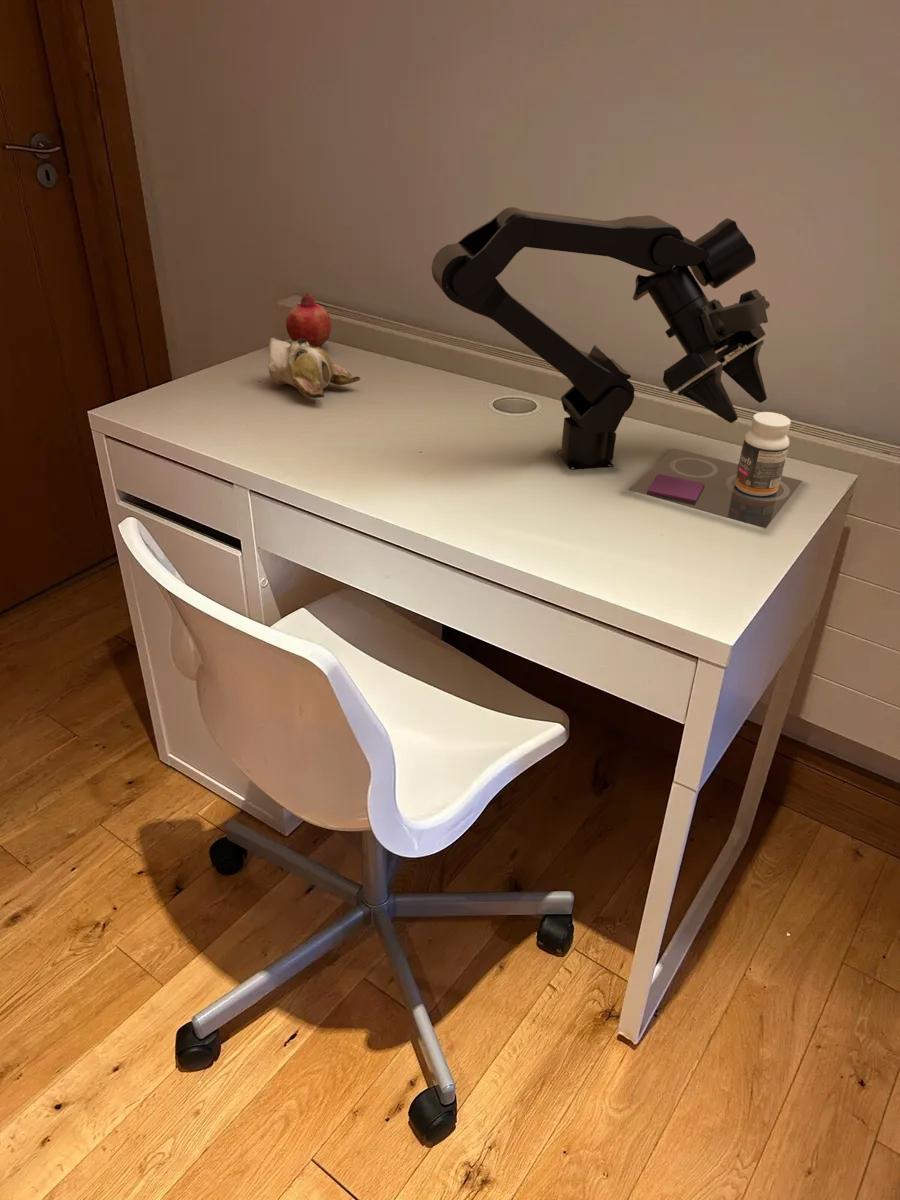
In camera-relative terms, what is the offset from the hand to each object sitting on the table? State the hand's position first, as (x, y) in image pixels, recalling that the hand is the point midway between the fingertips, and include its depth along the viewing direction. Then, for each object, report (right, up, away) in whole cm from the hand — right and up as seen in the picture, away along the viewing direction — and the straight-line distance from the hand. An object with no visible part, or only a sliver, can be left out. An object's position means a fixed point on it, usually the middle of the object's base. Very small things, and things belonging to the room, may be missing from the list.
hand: (749, 410), depth 122 cm
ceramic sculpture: (-62, +10, +32) cm, 70 cm away
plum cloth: (-9, -10, +3) cm, 14 cm away
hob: (-3, -10, +4) cm, 11 cm away
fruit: (-64, +21, +49) cm, 83 cm away
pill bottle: (+2, -10, +4) cm, 11 cm away
